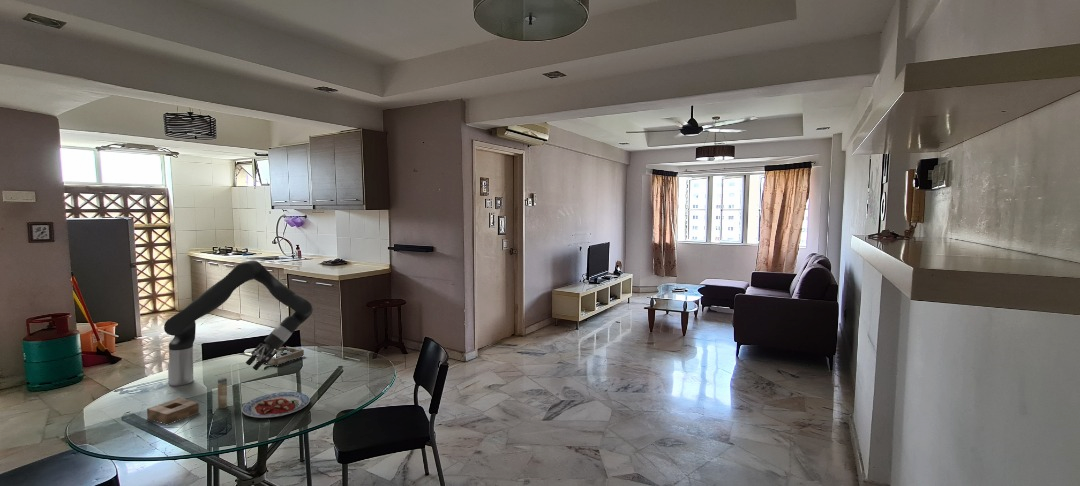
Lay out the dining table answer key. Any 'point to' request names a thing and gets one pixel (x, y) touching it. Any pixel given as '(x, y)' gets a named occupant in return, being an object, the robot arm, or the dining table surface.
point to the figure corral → (287, 357)
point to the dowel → (222, 393)
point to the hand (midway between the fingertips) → (250, 366)
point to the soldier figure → (279, 353)
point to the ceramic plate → (275, 404)
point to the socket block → (172, 410)
